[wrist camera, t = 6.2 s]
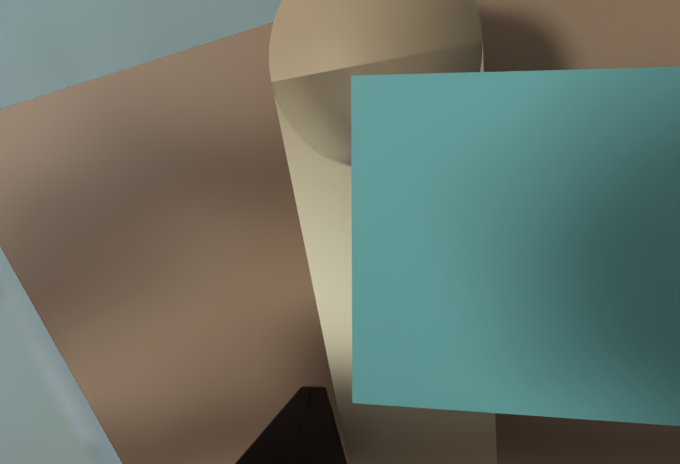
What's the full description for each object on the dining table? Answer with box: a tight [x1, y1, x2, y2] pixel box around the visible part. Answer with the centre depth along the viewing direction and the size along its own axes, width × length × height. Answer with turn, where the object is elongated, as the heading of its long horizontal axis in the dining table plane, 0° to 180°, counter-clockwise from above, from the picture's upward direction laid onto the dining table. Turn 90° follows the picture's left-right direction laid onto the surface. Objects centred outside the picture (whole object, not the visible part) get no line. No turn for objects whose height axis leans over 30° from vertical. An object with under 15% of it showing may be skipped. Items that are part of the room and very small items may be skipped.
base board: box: [0, 0, 680, 464], centre depth 11 cm, size 22×19×1 cm
